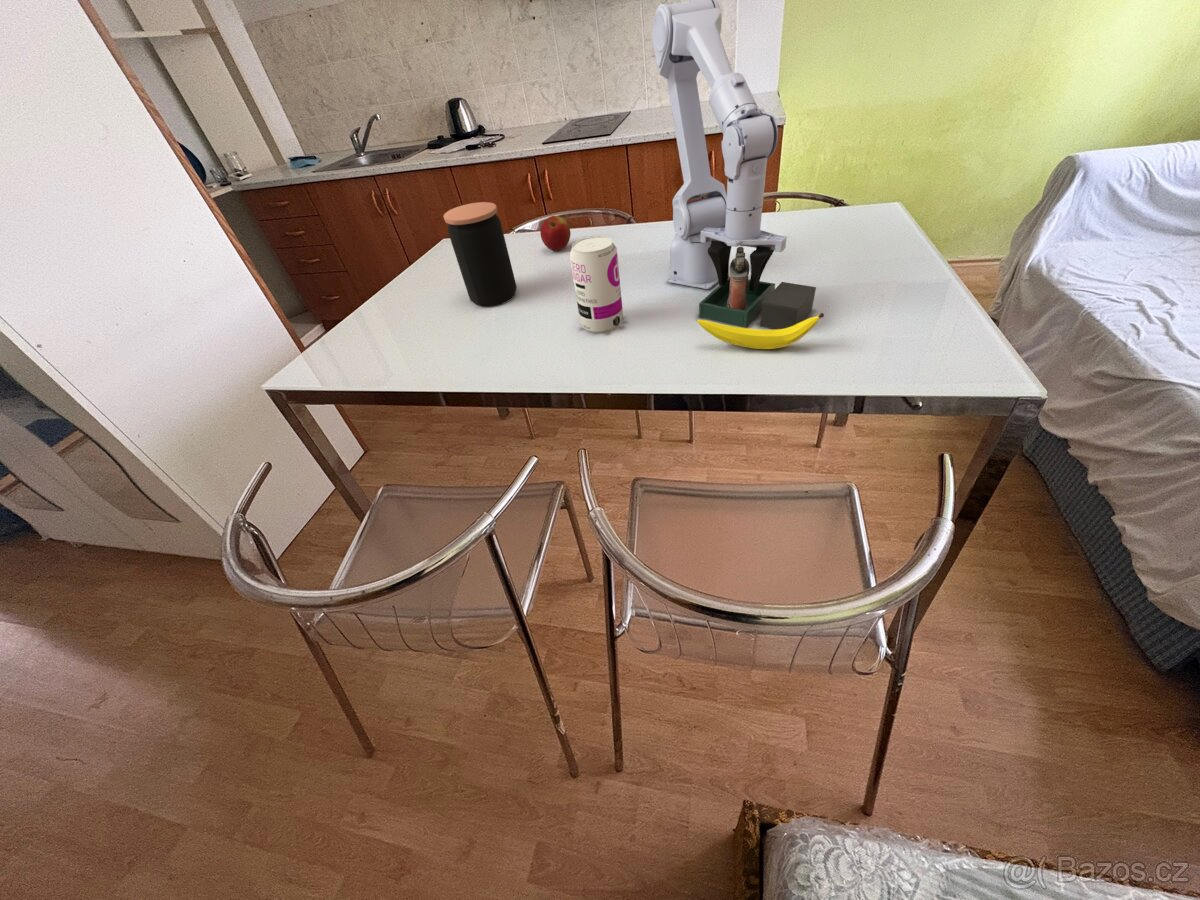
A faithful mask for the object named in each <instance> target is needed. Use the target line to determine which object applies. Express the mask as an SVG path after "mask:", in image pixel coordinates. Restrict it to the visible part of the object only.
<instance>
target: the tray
mask: <svg viewBox="0 0 1200 900" xmlns="http://www.w3.org/2000/svg"><path fill="white" fill-rule="evenodd" d="M775 289H776V283H774V282H767V281H761V280H760V281H759V284H758V287H757V288H756V289H755V290H754V291H750V278H749V279H748V289H747V290H746V301H747V303H746V311H745V310H740V309H735V308H730V307H727V305H728V298H729V290H730V275H728V281H727V282H726V283H725V284H724V285H723V286H720V285H719V284H718V286H717V287H715V289H713V290H712V291H711V292H710V293H709V294H708V295H706V296H705V298H703V299H702V300H701V301H700V302H699V303H698V305H699V306H698V318H699V319H703V320H708V321H712V322H717V323H723V324H726V325H731V326H736V327H742V328H748V326H749V325H750V324H751V323H752V322H754V320H755V319H756V317H757V316H758V315H760V314H761V312H762V302H763V301H764V300H765V299H766V298H767V297H768V296H769V295H770V294H771V293H772V292H773V291H774V290H775Z"/></svg>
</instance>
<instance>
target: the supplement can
mask: <svg viewBox="0 0 1200 900" xmlns="http://www.w3.org/2000/svg"><path fill="white" fill-rule="evenodd" d="M569 260H570V261H569V262H570V269H571V274H572V280H573V285H574V286H573V287H574V292H575V297H576V303H577V304H576V305H577V310H578V317H579V323H580V326H581V327H582V328H583V329H585V330H586V331H587V332H589V333H594V334H605V333H609V332H612V331H614V330H616V329H617V328H619V327H620V325H621V324H623V322H624V309H623V299H622V289H621V278H620V267H619V256H618V248H617V247H616V245H615V243H614V242H613V239H612V238H611V237H608V236H603V235H597V236H596V235H595V236H588V237H584V238H580V239H578V240H577V241H575V242H574V243H572V245H571V250H570V254H569Z"/></svg>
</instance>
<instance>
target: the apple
mask: <svg viewBox="0 0 1200 900" xmlns="http://www.w3.org/2000/svg"><path fill="white" fill-rule="evenodd" d="M539 232H540V239H541V241H542V243H543V244H544V246H545V247H546V248H547V249H548V250H550V251H552V252H553V251H554V252H558V251H562V250H564V249H565V248H566V247H567V246H568V245H569V242H570V239H571V228H570V226H569V223H568V222H567V221H566V220H565V219H564V218H562V217H561V216H556V215H551V216H549V217H546V219H545V220H544V221H543V222H542V224H541V226H540V231H539Z"/></svg>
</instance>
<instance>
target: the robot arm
mask: <svg viewBox="0 0 1200 900" xmlns="http://www.w3.org/2000/svg"><path fill="white" fill-rule="evenodd" d="M722 20H723V15H722V11H721V7H720V4H719V2H718V0H687V1H682V2H681V1H680V2H675V3H669V4H666V3H661V4H659V5H658V6H657V8H656V11H655V13H654V16H653V22H652V33H651V39H652V44H653V45H652V46H653V51H654V52H653V53H654V57H655V63H656V66H657V72H658V75H659V76H661V77H663V78H664V79H666V85H667V91H668V96H669V103H670V108H671V115H672V121H673V126H674V132H675V133H674V134H675V138H676V145H677V150H678V156H679V162H680V168H681V174H682V181H683V184H682V185H681V186H680V187H679V190H678V191H677V192H676V194H675V195H674V197H673V198H672V223H673V228H674V232H675V233H676V234H675V235H674V236H673V238H672V240H671V242H670V247H669V273H670V274H669V276H670V278H669V279H668V283H670V284H676V285H681V286H687V287H693V288H698V289H703V290H710V289H712V287H713V286H715V285H716V284H717V283H718V286H719V285H720V286H723V285H724V284H725V283H726V282H727V281H728V277H729V274H730V272H729V271H730V258H731V257H730V256H731V253H732V252H731V251H732V247H735V248H738V247H747V248H755V249H754V250H752V252H751V253H750V254H749V261H750V262H749V263H750V277H749V279H750V291H754V290H755V289H756V288H757V287H758V284H759V281H761V277H762V275H763V273H764V270H765V268H766V266H767V264H768V262H769V260H770V258H771V257H772V255H773V253H774V252H775V253H782V252H783V251H784V250H785V249H786V245H787V239H788V236H786V235H781V234H777V233H774V232H773V233H772V232H769V231H766V230H762V229H761V228H762V227H761V225H762V217H763V205H764V196H765V187H766V177H767V176H766V175H767V167H768V166H767V165H768V158H771V157H772V155H774V153H775V151H776V149H777V146H778V142H779V141H778V140H779V128H778V125H777V121H776V118H775V115H773V114H772V113H771V112H767V111H765V109H764V108H759V106H758V105H757V104H758V103H757V102H756V100H755V97H754V95H753V94H752V91H751V89H750V87H749V85H748V83H747V80H746V79H745V76H744V75H743V74H742V73H740V72H733V69H732V66H731V64H730V60H729V58H728V55H727V52H726V48H725V46H724V43H723V40H722V37H721V32H722V22H723V21H722ZM699 72H701V73H702V76H703V77H704V79H705V81H706V82H707V84H708V86H709V87H710V89H711V90H710V92H709V96H708V104H709V106H710V108H711V111H712V113H713V115H714V117H715V120H716V122H717V124H718V126H719V128H720V131H721V133H722V135H723V136H722V140H721V153H722V156H723V157H722V158H723V161H724V175H725V177H727V182H726V183H727V184H726V185H727V186H726V185H725V184H724V183H722V182H721V181H719V180H718V179H716V178H715V177H713V176H712V174H711V168H710V161H709V160H710V159H709V155H708V154H709V153H708V148H707V141H706V140H707V139H706V135H705V128H704V127H705V126H704V121H703V115H702V114H703V113H702V107H701V99H700V94H699V88H698V81H697V77H698V74H699ZM725 186H726V187H725ZM703 197H704V198H703Z"/></svg>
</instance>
